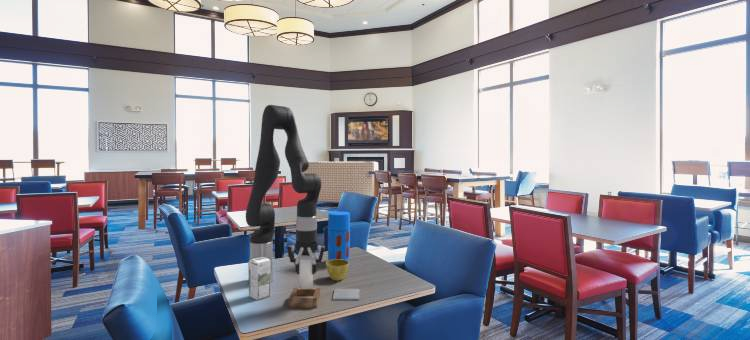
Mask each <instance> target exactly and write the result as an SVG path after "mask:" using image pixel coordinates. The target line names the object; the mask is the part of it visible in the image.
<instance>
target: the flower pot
mask: <svg viewBox="0 0 750 340" xmlns="http://www.w3.org/2000/svg"><path fill="white" fill-rule="evenodd" d="M349 265H350V261H349V262H348V261H346V260H342V259H335V260H329V261H328V260H327V261H326V262H325V266H326V270H327V274H328V275H329V277H330V279H331V280H332V281H341V280H343V279H344V278H345V277H346V275H347V271H348V269H349Z"/></svg>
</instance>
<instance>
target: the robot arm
mask: <svg viewBox="0 0 750 340" xmlns="http://www.w3.org/2000/svg"><path fill="white" fill-rule="evenodd" d="M260 127H261V130H260V140H259V147H258V151H257V153H258V154H257V157H256V162H255V169H254V174H253V175H254V177H253V182H252V187H251V192H250V195H249V199H248V202H247V205H246V211H245V222H246V224H247V225H248V226H249V227H252V228H253V227H254V228H256V227H258V229H257V230H256V231H255V232H253V233H251V234H250V236H249V260H252V259H256V258H260V257H265V258H267V259H269V260H271V264H270V283H272V282H273V281H274V279H273V276H274V273H273V272H274V270H273V269H274V268H273V265H274V262H273V260H274V259H273V257H274V256H273V255H274V251H273V249H274V248H273V247H274V243H273V242H274V240H273V237H274V235H275V223H276V222H275V221H276V212H275V208H274V206H273V205H272V203H269V202H266V203H264V202H263V200H264V198H265V195H267V193H268V191H269V190H270V188H271V187H272V186H273V185H274V183H275V182H276V181H277V178H278V175H279V170H280V166H281V160H280V159H281V158H280V156H279V154H278V150H277V149H276V146H275V142H274V133H275V130H283V131H284V133H285V135H286V136H287V139H286V143H285V146H284V156H285V158H286V161H287V163H288V166H289V168H290V177H291V178H290V179H291V187H292V189H293V190H294V191H295V192H296V193H297V194H306V196H305V197H304V198H301V199H299V200H298V201H297V202H296V203H297V204H296V220H295V221H296V222H295V243H294V244H293V245H291V244H289V245H288V246H287V248H286V249H287V254H288V258H289V262H290V263H293V264H294V265H295V268H294V270H295V273H296V274H297V275H299V260H300V256H301V255H310V256H311V259H312V262H313V264H312V274H313V275H315V274H316V272H317V271H318V268H317V267H318V264H321V263H322V260H323V257H324V253H325V251H326V250H325V248H326V246H325V245H319V244H318V241H317V240H318V239H317V238H318V237H317V236H318V235H317V234H318V230H317V229H318V221H317V204H318V201H319V196H320V194H321V189H322V179H321V177H320V176H319V174H318V173H304V172H306V171H307V170H308V169H309V167H310V163H309V161H308V158H307V156H306V154H305V151H304V150H303V149H304V148H303V146H302V143H301V140H300V136H299V130H298V127H297V124H296V119H295V115H294V113H293V111H292V109H291V108H290V107H286V106H283V105H282V106H281V105H274V104H268V105H266V106H265V108H264V110H263V112H262V117H261V126H260ZM317 249H318V252H319V255H318V258H317V257H316V256H317V255H316V253H315V252H316V250H317ZM295 250H296V251H297V253H298V254H297V255H296V256H297V257H296V258H295V254H294V251H295ZM313 254H314V255H313ZM299 255H300V256H299Z"/></svg>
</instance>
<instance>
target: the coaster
mask: <svg viewBox="0 0 750 340" xmlns="http://www.w3.org/2000/svg"><path fill="white" fill-rule="evenodd" d="M360 290H361V289H360V288H334V289H333V291H334V292H333V296H332V300H333V301H360V293H361V292H360Z"/></svg>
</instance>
